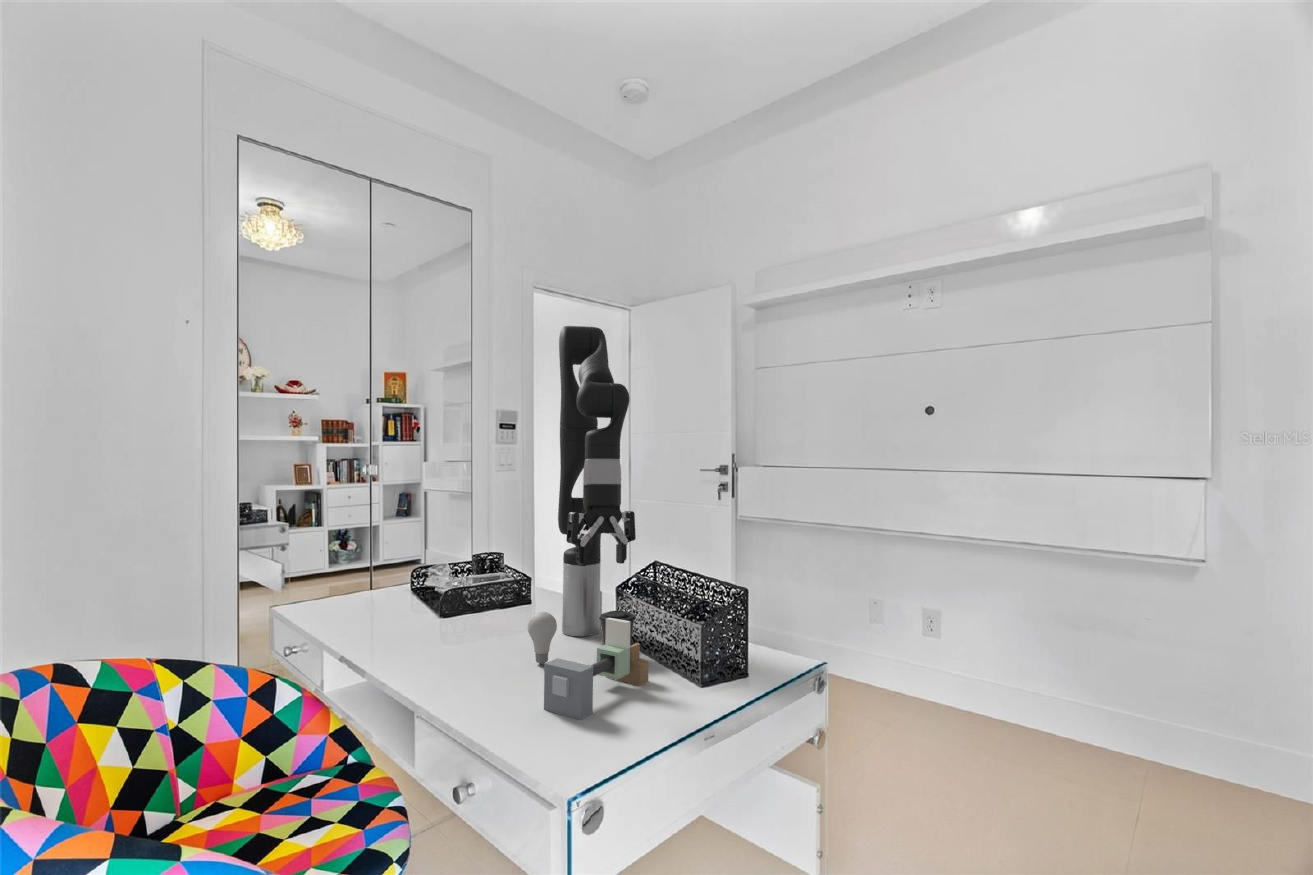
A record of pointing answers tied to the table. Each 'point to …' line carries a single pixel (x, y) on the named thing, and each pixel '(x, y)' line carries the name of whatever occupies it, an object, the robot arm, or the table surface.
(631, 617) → the coffee cup
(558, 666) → the rod rig
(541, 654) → the lightbulb
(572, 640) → the table surface
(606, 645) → the white-faced green block
